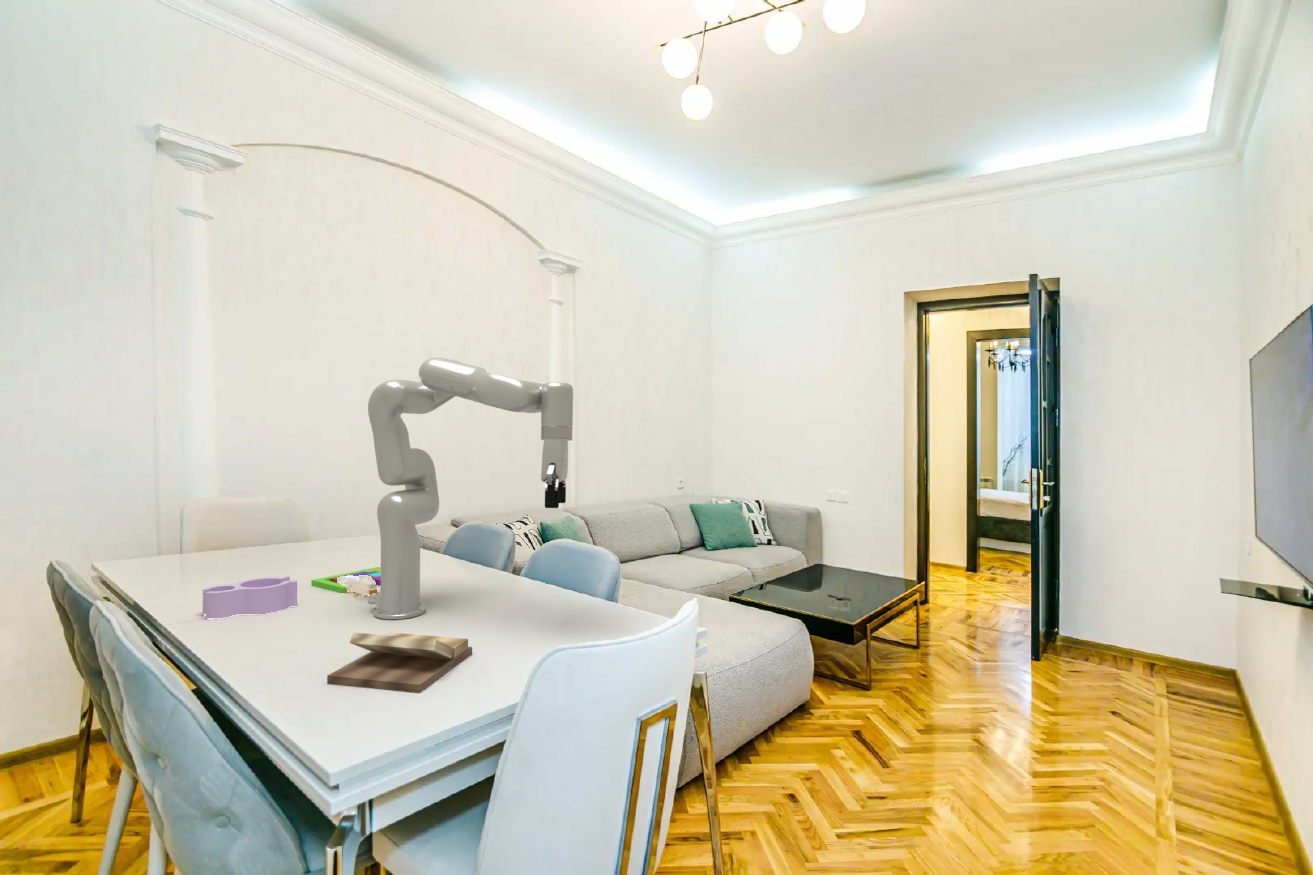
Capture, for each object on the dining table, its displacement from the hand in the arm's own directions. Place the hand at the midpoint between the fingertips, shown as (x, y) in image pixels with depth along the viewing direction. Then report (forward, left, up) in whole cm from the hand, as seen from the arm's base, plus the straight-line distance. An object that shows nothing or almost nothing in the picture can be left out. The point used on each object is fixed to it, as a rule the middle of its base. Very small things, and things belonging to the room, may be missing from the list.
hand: (555, 505), depth 158 cm
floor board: (-21, -31, -30) cm, 48 cm away
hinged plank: (-21, -32, -26) cm, 46 cm away
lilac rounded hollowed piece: (-81, -4, -31) cm, 86 cm away
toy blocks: (-68, +28, -31) cm, 80 cm away
